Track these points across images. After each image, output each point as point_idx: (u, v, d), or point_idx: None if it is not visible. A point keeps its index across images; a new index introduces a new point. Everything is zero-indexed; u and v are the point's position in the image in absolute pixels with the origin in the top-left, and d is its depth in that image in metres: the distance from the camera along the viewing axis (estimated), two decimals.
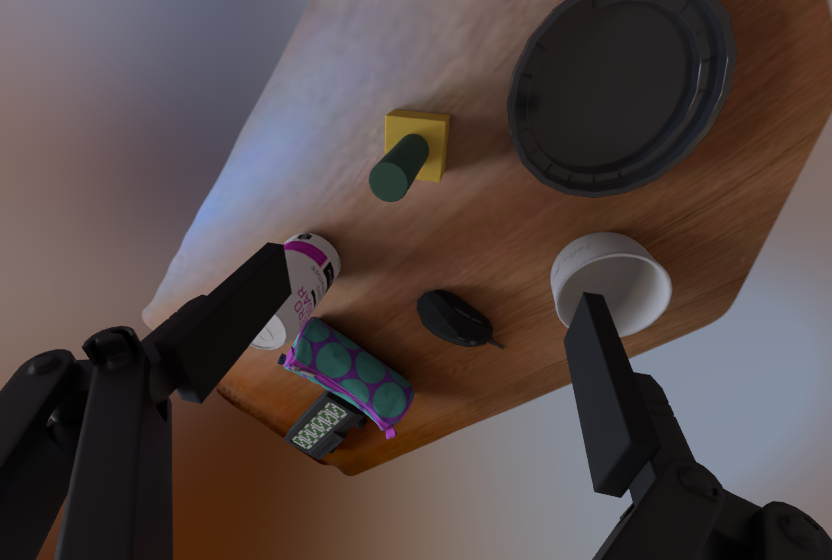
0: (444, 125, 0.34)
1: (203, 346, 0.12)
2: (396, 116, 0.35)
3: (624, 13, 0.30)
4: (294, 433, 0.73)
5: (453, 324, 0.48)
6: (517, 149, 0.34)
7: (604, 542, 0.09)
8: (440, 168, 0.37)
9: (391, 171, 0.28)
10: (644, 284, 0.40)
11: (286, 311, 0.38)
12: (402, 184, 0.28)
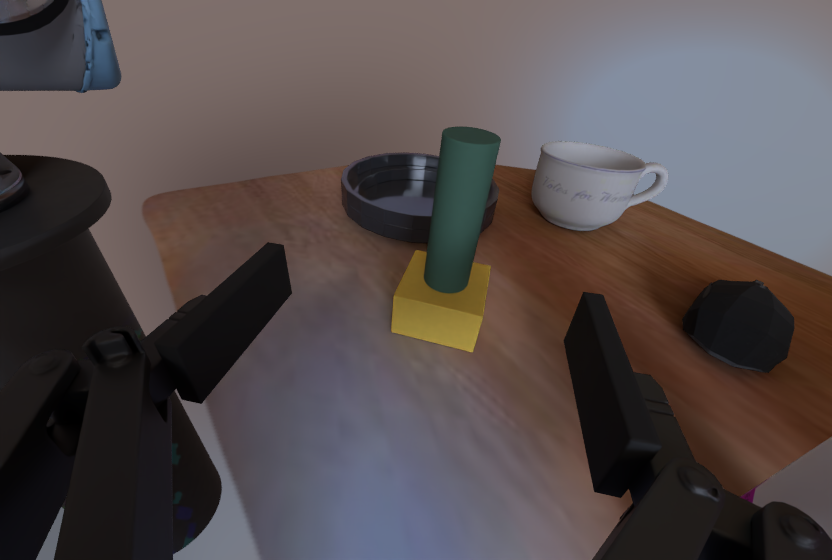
0: (420, 251, 0.28)
1: (204, 346, 0.12)
2: None
3: (367, 195, 0.42)
4: None
5: (738, 290, 0.28)
6: None
7: (604, 542, 0.09)
8: None
9: (455, 130, 0.20)
10: None
11: None
12: (473, 129, 0.20)
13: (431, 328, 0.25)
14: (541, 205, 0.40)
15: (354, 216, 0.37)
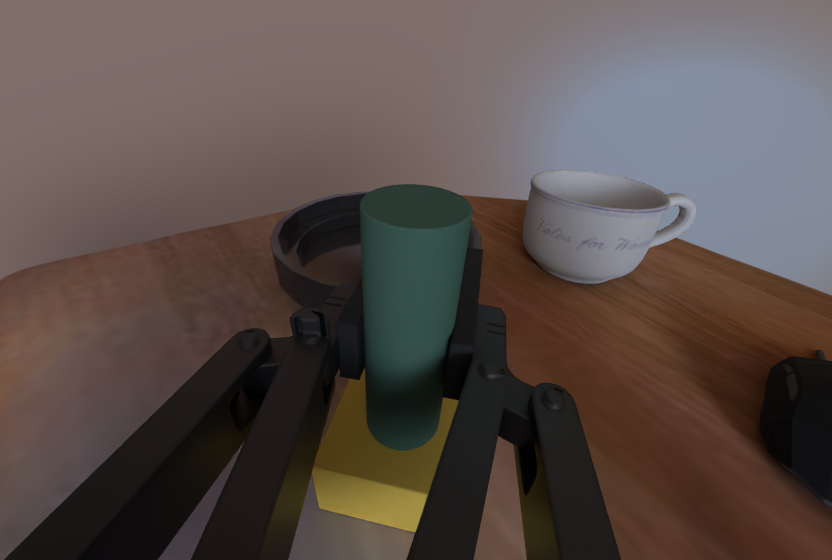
0: None
1: None
2: (322, 443, 0.15)
3: (312, 251, 0.32)
4: None
5: None
6: None
7: None
8: None
9: (387, 196, 0.10)
10: None
11: None
12: (423, 189, 0.11)
13: (381, 510, 0.15)
14: (537, 254, 0.31)
15: (287, 288, 0.27)
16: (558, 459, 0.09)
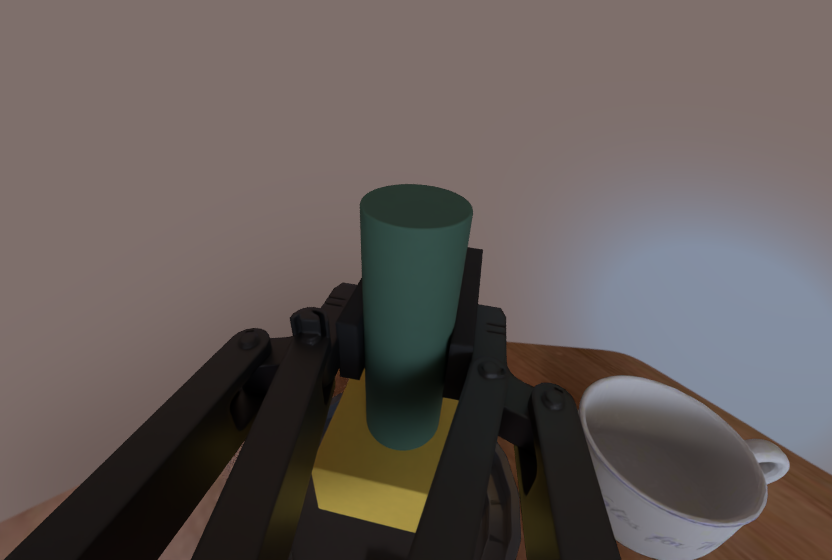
0: None
1: None
2: (322, 443, 0.15)
3: (308, 492, 0.26)
4: None
5: None
6: None
7: None
8: None
9: (387, 195, 0.10)
10: (623, 417, 0.30)
11: None
12: (423, 189, 0.11)
13: (381, 510, 0.15)
14: None
15: None
16: (558, 459, 0.09)
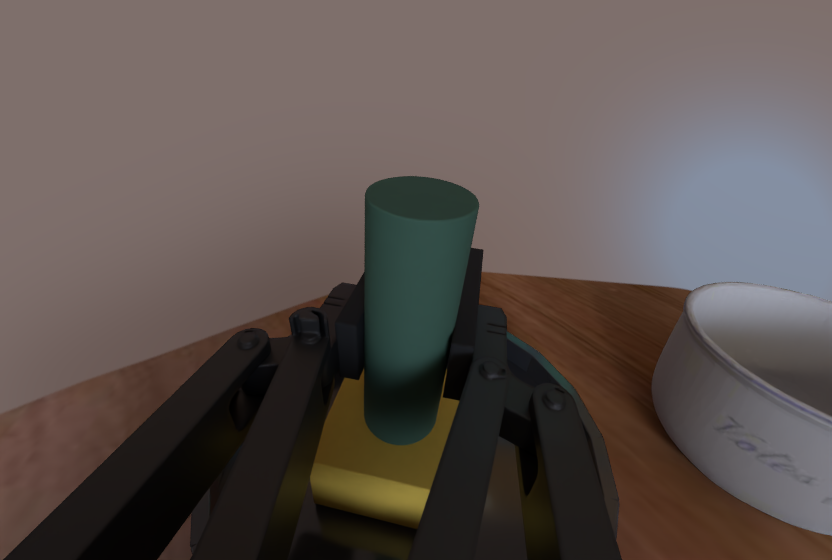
0: None
1: None
2: None
3: None
4: None
5: None
6: None
7: None
8: None
9: (392, 187, 0.10)
10: (726, 348, 0.22)
11: None
12: (428, 181, 0.11)
13: (377, 505, 0.15)
14: (705, 465, 0.16)
15: None
16: (559, 459, 0.09)
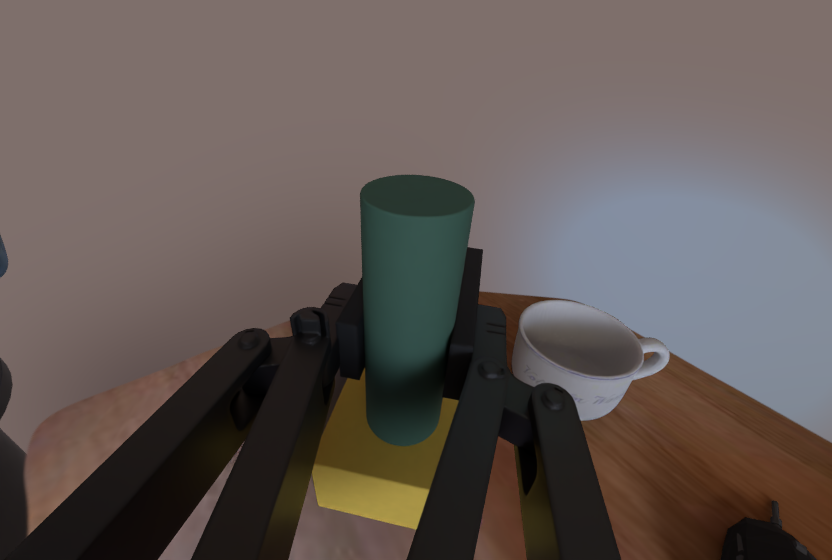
0: None
1: None
2: (321, 439, 0.15)
3: None
4: None
5: None
6: None
7: None
8: None
9: (387, 185, 0.10)
10: (560, 335, 0.39)
11: None
12: (424, 179, 0.11)
13: (381, 507, 0.14)
14: None
15: None
16: (558, 459, 0.09)
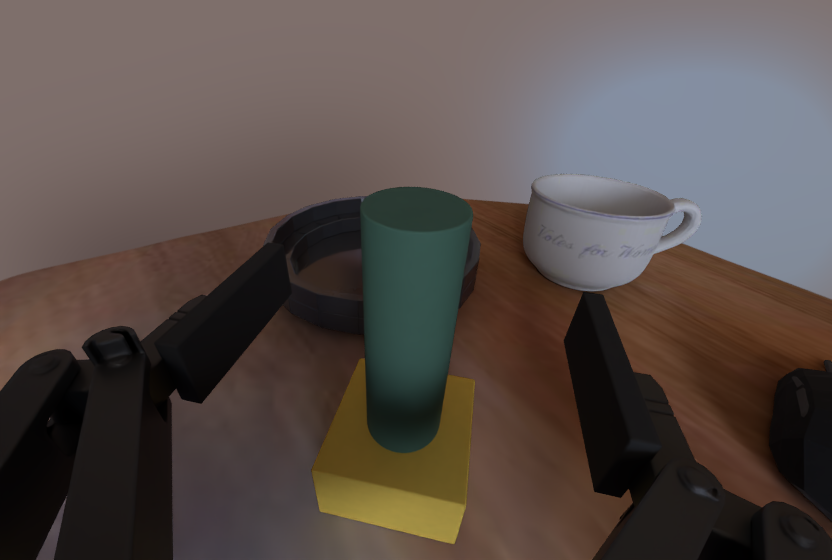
0: None
1: (204, 346, 0.12)
2: (323, 446, 0.15)
3: (307, 257, 0.32)
4: None
5: None
6: None
7: (604, 542, 0.09)
8: None
9: (387, 198, 0.10)
10: None
11: None
12: (423, 191, 0.11)
13: (382, 513, 0.15)
14: (537, 261, 0.30)
15: None
16: None
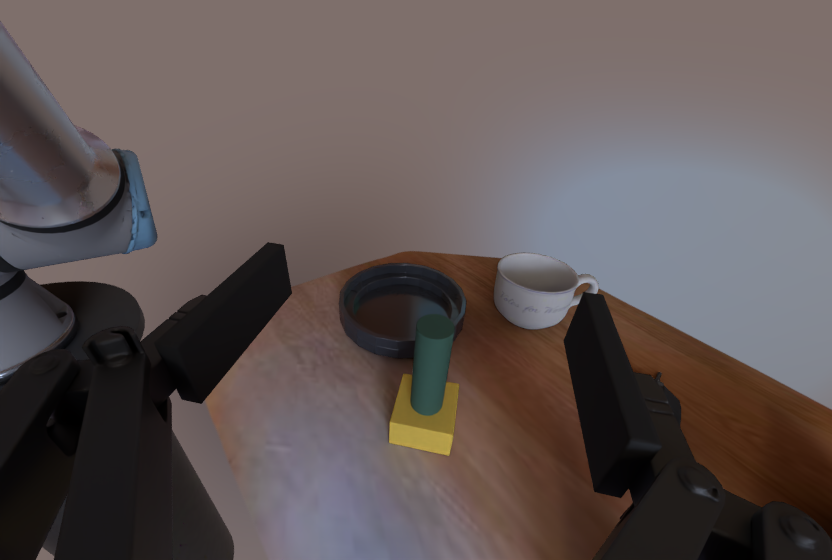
0: (406, 374, 0.38)
1: (203, 346, 0.12)
2: (392, 413, 0.34)
3: (360, 307, 0.51)
4: None
5: None
6: None
7: (604, 542, 0.09)
8: None
9: (425, 322, 0.30)
10: (529, 279, 0.55)
11: None
12: (437, 317, 0.31)
13: (418, 441, 0.34)
14: (501, 311, 0.50)
15: (351, 336, 0.46)
16: None
